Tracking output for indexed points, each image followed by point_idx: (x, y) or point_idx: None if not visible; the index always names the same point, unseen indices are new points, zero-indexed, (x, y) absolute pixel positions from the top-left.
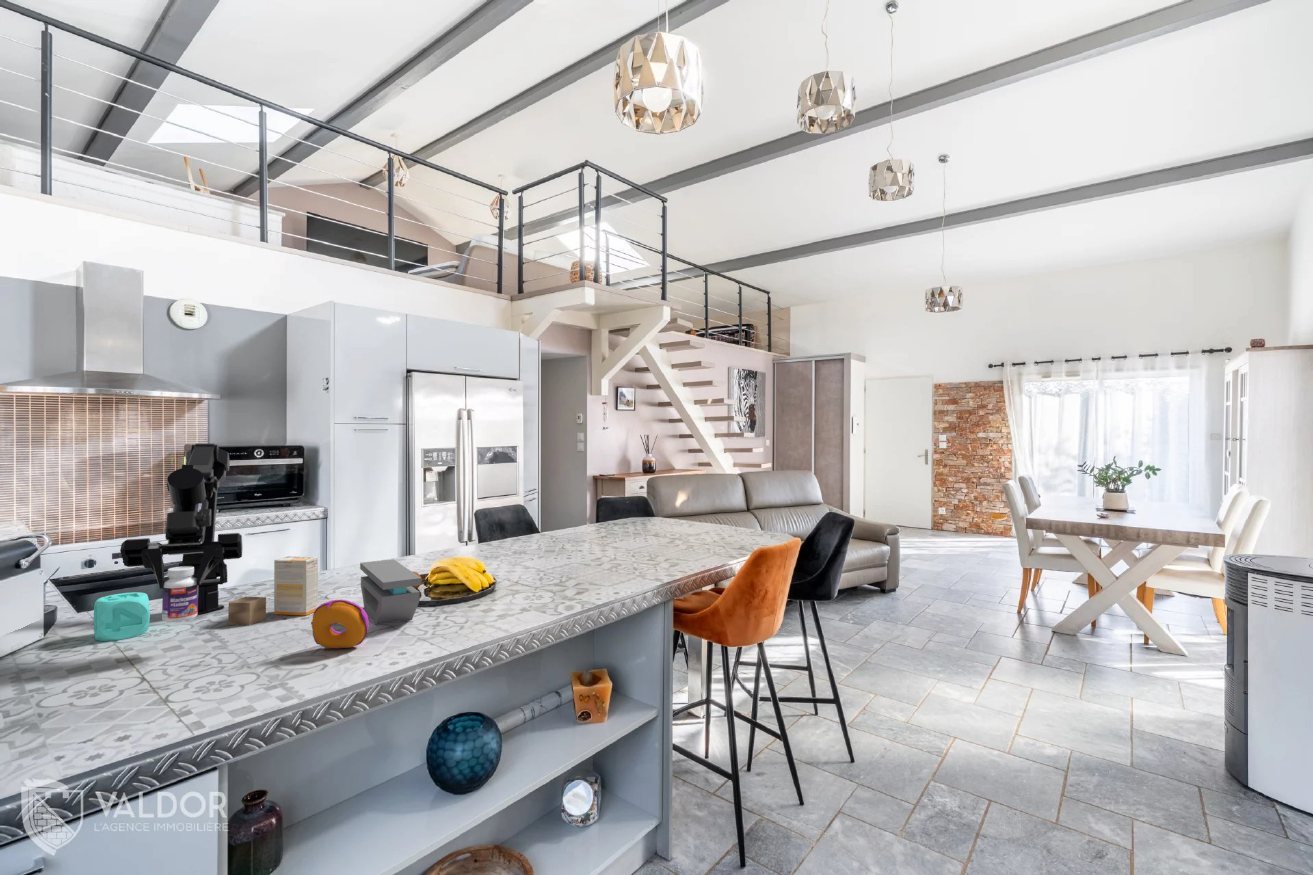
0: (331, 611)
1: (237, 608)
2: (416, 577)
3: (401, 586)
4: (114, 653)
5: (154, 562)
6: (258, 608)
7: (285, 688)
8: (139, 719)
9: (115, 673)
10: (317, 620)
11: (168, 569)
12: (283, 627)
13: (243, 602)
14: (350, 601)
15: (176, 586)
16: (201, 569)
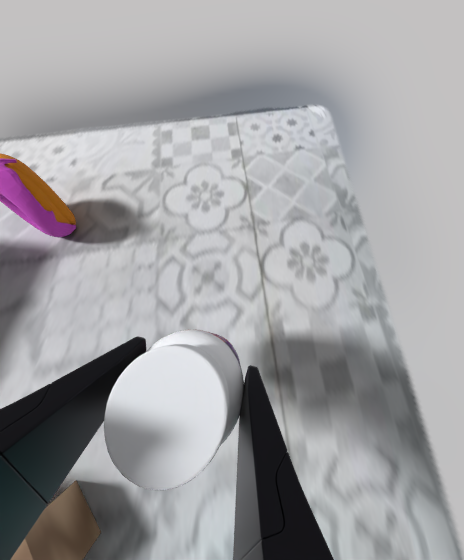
0: (20, 162)
1: (55, 551)
2: None
3: None
4: (299, 441)
5: (308, 539)
6: None
7: (158, 153)
8: (267, 162)
9: (291, 315)
10: (48, 187)
11: (224, 413)
12: None
13: (27, 558)
14: None
15: (208, 333)
16: (90, 372)
